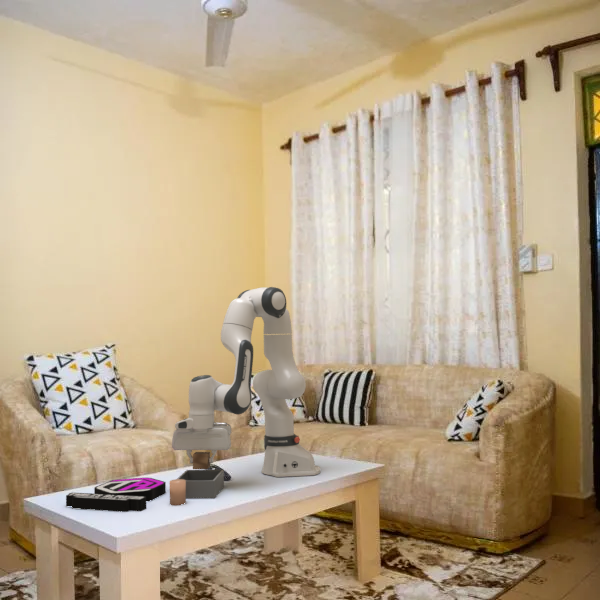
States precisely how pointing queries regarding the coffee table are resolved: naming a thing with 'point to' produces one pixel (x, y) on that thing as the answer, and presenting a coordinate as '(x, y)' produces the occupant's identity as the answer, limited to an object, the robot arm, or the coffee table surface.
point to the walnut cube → (201, 460)
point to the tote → (203, 483)
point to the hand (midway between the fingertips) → (201, 463)
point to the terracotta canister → (177, 492)
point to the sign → (119, 495)
